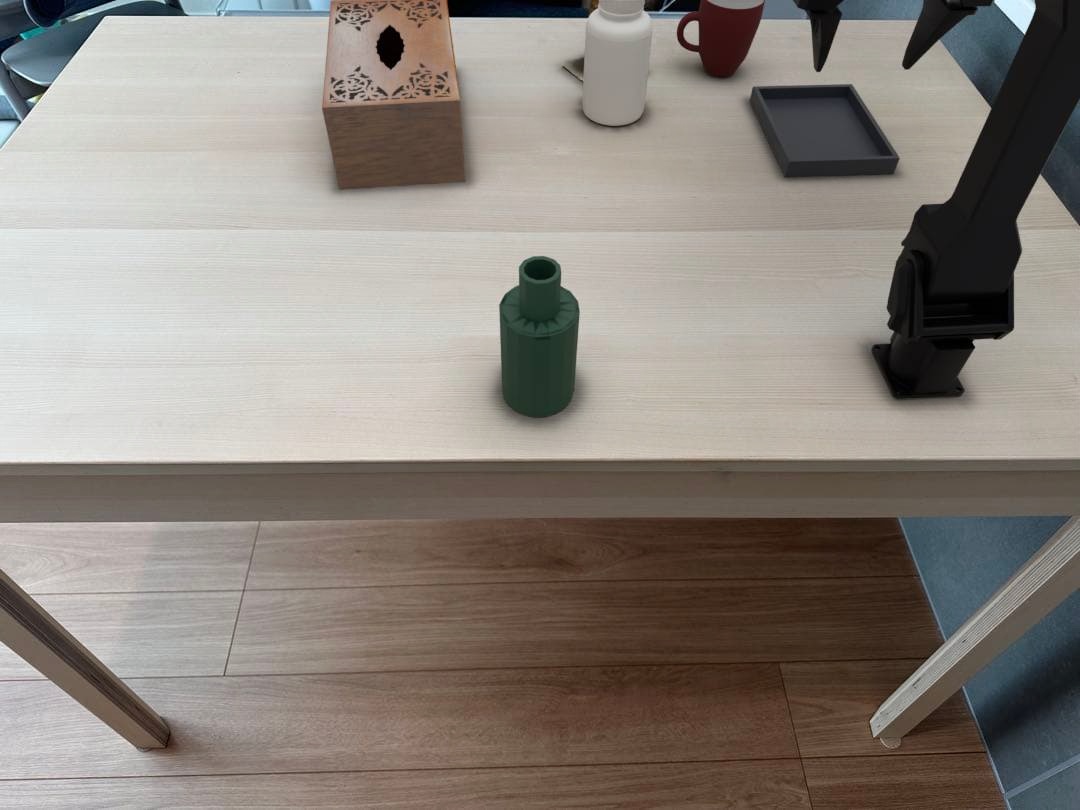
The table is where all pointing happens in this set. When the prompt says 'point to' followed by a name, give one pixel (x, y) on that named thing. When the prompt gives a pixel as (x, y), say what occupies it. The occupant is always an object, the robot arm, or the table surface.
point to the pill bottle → (616, 62)
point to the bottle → (538, 340)
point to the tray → (822, 131)
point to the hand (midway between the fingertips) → (861, 68)
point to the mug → (723, 33)
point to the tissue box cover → (392, 94)
